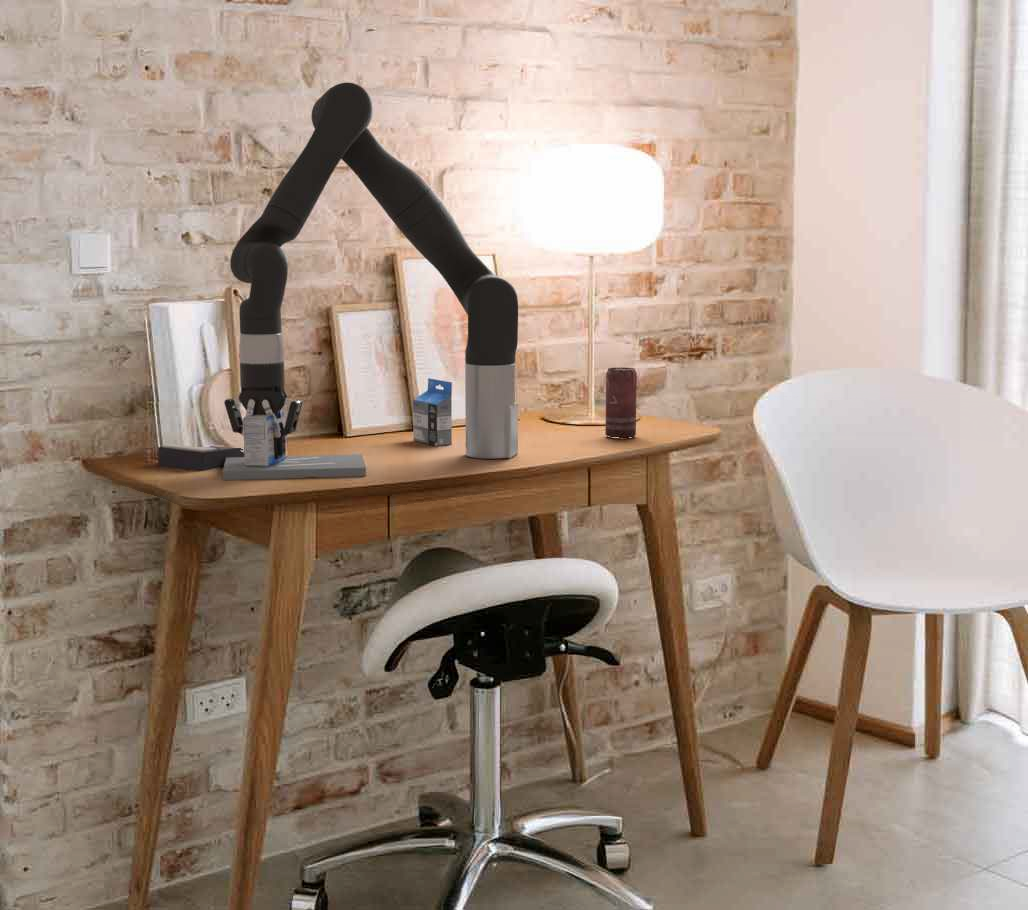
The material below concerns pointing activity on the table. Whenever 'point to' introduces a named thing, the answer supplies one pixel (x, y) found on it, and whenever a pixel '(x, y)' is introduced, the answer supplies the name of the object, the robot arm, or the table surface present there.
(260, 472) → the slate board
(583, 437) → the table surface
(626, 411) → the can
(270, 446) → the medicine box
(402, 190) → the robot arm
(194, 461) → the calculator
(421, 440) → the label tape cartridge
